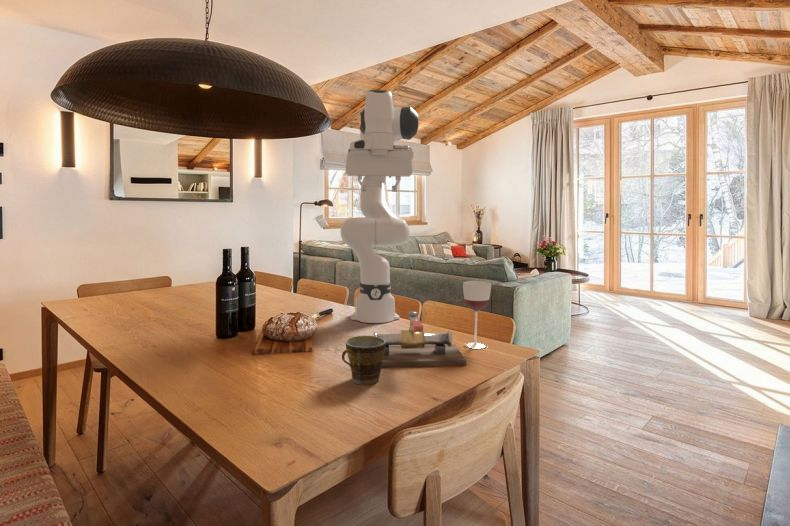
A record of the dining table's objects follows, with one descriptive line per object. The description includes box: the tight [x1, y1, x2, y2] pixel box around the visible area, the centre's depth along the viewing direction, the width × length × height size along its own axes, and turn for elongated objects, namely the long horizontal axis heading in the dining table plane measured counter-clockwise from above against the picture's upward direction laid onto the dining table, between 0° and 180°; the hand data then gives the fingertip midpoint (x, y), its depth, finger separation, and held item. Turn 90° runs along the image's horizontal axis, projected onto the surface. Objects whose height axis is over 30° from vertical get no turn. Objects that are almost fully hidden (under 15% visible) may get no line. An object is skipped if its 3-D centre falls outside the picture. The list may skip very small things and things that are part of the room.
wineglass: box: [462, 280, 492, 350], centre depth 141 cm, size 8×9×20 cm
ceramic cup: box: [341, 335, 386, 386], centre depth 112 cm, size 13×10×10 cm
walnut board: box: [381, 344, 467, 368], centre depth 131 cm, size 14×28×2 cm, turn 95°
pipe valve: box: [373, 326, 453, 356], centre depth 130 cm, size 5×22×8 cm, turn 95°
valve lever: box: [407, 310, 424, 332], centre depth 123 cm, size 14×3×4 cm, turn 5°
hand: (378, 191), depth 139 cm, fingers open, 8 cm apart
